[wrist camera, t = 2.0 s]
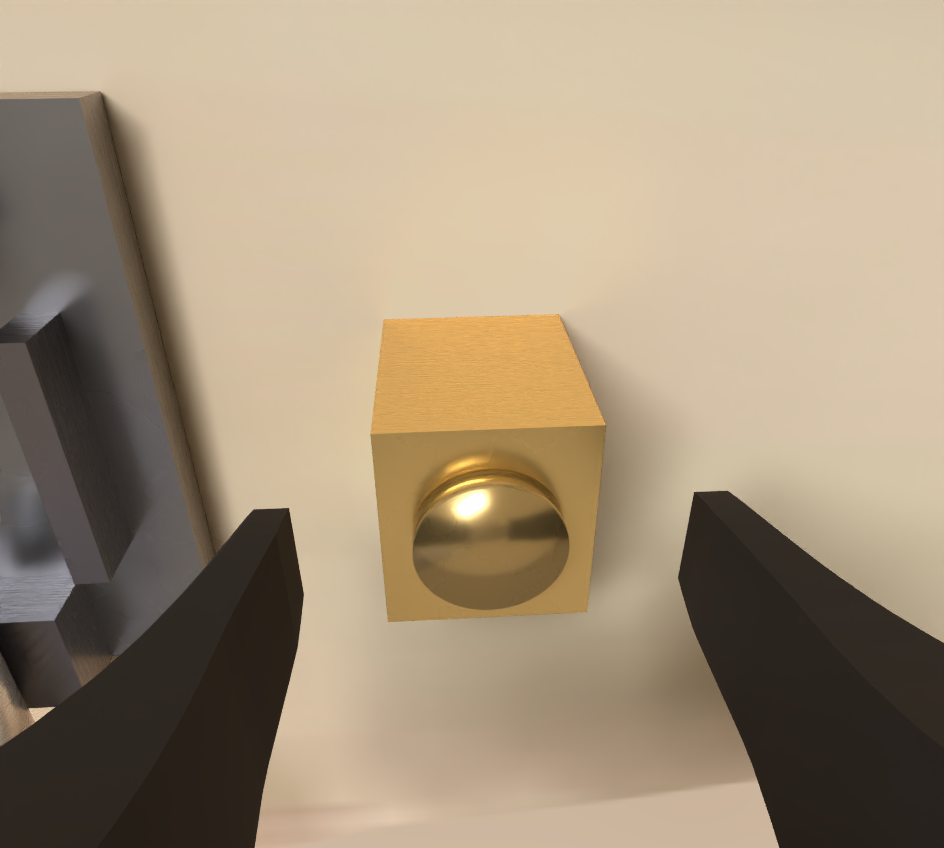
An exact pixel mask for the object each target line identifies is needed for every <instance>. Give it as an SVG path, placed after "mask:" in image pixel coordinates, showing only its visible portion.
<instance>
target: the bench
mask: <svg viewBox="0 0 944 848" xmlns="http://www.w3.org/2000/svg"><path fill="white" fill-rule="evenodd" d="M214 556H215V553H214V549H213V545H212V541H211V537H210V533H209V529H208V525H207V521H206V517H205V513H204V508H203V504H202V500H201V496H200V492H199V488H198V484H197V480H196V476H195V472H194V468H193V464H192V460H191V456H190V452H189V448H188V444H187V440H186V436H185V432H184V428H183V424H182V419H181V415H180V411H179V407H178V403H177V399H176V395H175V391H174V387H173V383H172V379H171V375H170V371H169V367H168V363H167V359H166V355H165V351H164V347H163V343H162V339H161V335H160V331H159V326H158V322H157V318H156V314H155V310H154V306H153V302H152V298H151V294H150V290H149V286H148V282H147V278H146V274H145V270H144V266H143V262H142V258H141V254H140V250H139V246H138V242H137V237H136V233H135V229H134V225H133V221H132V217H131V213H130V209H129V205H128V201H127V197H126V193H125V189H124V185H123V181H122V177H121V173H120V169H119V165H118V161H117V157H116V153H115V149H114V144H113V140H112V136H111V132H110V128H109V124H108V120H107V116H106V112H105V108H104V104H103V100H102V96H101V92H33V93H0V746H2V745H3V744H5V743H6V742H8V741H9V740H11V739H12V738H14V737H15V736H16V735H18V734H19V733H21V732H22V731H24V730H25V729H27V728H28V727H30V726H31V725H32V724H34V723H35V721H34V719H33V717H32V715H31V713H30V711H29V709H28V708H42V707H56V706H58V705H59V704H60V703H62V702H63V701H64V700H65V699H67V698H68V697H69V696H71V695H72V694H73V693H75V692H76V691H77V690H79V689H80V688H81V687H83V686H84V685H85V684H86V683H88V682H89V681H90V680H91V679H93V678H94V677H95V676H96V675H98V674H99V673H100V672H101V671H102V670H103V669H105V668H106V667H107V666H108V665H109V663H110V661H111V658H112V656H117V655H121V654H122V653H123V652H124V651H125V650H126V649H127V648H128V647H129V646H130V645H131V644H133V643H134V642H135V641H136V640H137V639H138V638H139V637H140V636H141V635H142V634H143V633H144V632H145V631H146V630H147V629H148V628H149V627H150V626H151V625H152V624H153V623H154V622H155V621H156V620H157V619H158V618H159V617H160V616H161V615H162V614H163V613H164V612H165V611H166V610H167V609H168V608H169V607H170V606H171V604H172V603H173V602H174V601H175V600H176V599H177V598H178V597H179V596H180V595H181V594H182V593H183V592H184V591H185V590H186V588H187V587H188V586H189V585H190V584H191V583H192V582H193V580H194V579H195V578H196V577H197V576H198V575H199V574H200V572H201V571H202V570H203V569H204V568H205V567H206V566H207V565H208V563H209V562H210V561H211V560H212V559H213V557H214Z"/></svg>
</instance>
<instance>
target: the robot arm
mask: <svg viewBox="0 0 944 848" xmlns="http://www.w3.org/2000/svg"><path fill="white" fill-rule="evenodd" d="M678 579H679V583H680V586H681V590H682V594H683V597H684V601H685V604H686V608H687V611H688V614H689V617H690V621H691V624H692V627H693V630H694V632H695V635H696V637H697V639H698V642H699V644H700V646H701V648H702V651H703V653H704V655H705V657H706V660H707V662H708V664H709V667H710V669H711V671H712V673H713V675H714V678H715V680H716V682H717V684H718V687H719V689H720V691H721V693H722V695H723V698H724V700H725V702H726V704H727V707H728V709H729V711H730V713H731V715H732V718H733V720H734V722H735V724H736V727H737V729H738V731H739V733H740V736H741V738H742V740H743V742H744V745H745V748H746V750H747V753H748V755H749V758H750V760H751V763H752V765H753V768H754V771H755V774H756V777H757V780H758V783H759V786H760V789H761V792H762V795H763V798H764V801H765V804H766V807H767V810H768V813H769V816H770V819H771V822H772V825H773V829H774V832H775V835H776V838H777V842H778V844H779V848H944V643H943V642H941V641H939V640H937V639H936V638H934V637H932V636H930V635H929V634H927V633H925V632H924V631H922V630H920V629H919V628H917V627H915V626H914V625H912V624H910V623H909V622H907V621H905V620H904V619H902V618H900V617H899V616H897V615H895V614H894V613H892V612H890V611H889V610H887V609H886V608H884V607H883V606H881V605H879V604H878V603H876V602H875V601H873V600H872V599H870V598H869V597H868V596H866V595H865V594H863V593H862V592H860V591H859V590H857V589H856V588H854V587H853V586H852V585H850V584H849V583H847V582H846V581H844V580H843V579H841V578H840V577H839V576H837V575H836V574H835V573H833V572H832V571H830V570H829V569H828V568H826V567H825V566H824V565H822V564H821V563H820V562H818V561H817V560H816V559H814V558H813V557H812V556H810V555H809V554H808V553H806V552H805V551H804V550H803V549H801V548H800V547H799V546H797V545H796V544H795V543H794V542H792V541H791V540H790V539H788V538H787V537H786V536H785V535H783V534H782V533H781V532H780V531H778V530H777V529H776V528H775V527H773V526H772V525H771V524H770V523H768V522H767V521H766V520H765V519H763V518H762V517H761V516H760V515H758V514H757V513H756V512H755V511H753V510H752V509H751V508H750V507H748V506H747V505H746V504H745V503H743V502H742V501H741V500H739V499H738V498H737V497H735V496H734V495H733V494H731V493H730V492H729V491H711V492H694V496H693V501H692V507H691V512H690V517H689V523H688V528H687V533H686V539H685V544H684V549H683V555H682V560H681V565H680V571H679V576H678ZM303 597H304V593H303V587H302V581H301V576H300V570H299V564H298V558H297V552H296V547H295V541H294V535H293V529H292V523H291V518H290V512H289V508H281V509H256V510H253V511H252V512H251V513H250V514H249V515H248V516H247V517H246V519H245V520H244V521H243V522H242V523H241V525H240V526H239V527H238V528H237V530H236V531H235V532H234V533H233V534H232V536H231V537H230V538H229V539H228V541H227V542H226V543H225V544H224V545H223V547H222V548H221V549H220V550H219V551H218V553H217V554H216V555H215V556H214V557H213V559H212V560H211V561H210V562H209V563H208V565H207V566H206V567H205V568H204V569H203V570H202V571H201V572H200V574H199V575H198V576H197V577H196V578H195V579H194V580H193V582H192V583H191V584H190V585H189V586H188V587H187V588H186V590H185V591H184V592H183V593H182V594H181V595H180V596H179V597H178V598H177V599H176V600H175V601H174V602H173V603H172V604H171V606H170V607H169V608H168V609H167V610H166V611H165V612H164V613H163V614H162V615H161V616H160V617H159V618H158V619H157V620H156V621H155V622H154V623H153V624H152V625H151V626H150V627H149V628H148V629H147V630H146V631H145V632H144V633H143V634H142V635H141V636H140V637H139V638H138V639H137V640H136V641H135V642H134V643H133V644H131V645H130V646H129V647H128V648H127V649H126V650H125V651H124V652H123V653H122V654H121V655H120V656H118V657H117V658H116V659H115V660H114V661H113V662H111V663H110V664H109V665H108V666H107V667H106V668H105V669H103V670H102V671H101V672H100V673H99V674H98V675H96V676H95V677H94V678H93V679H91V680H90V681H89V682H88V683H86V684H85V685H84V686H83V687H81V688H80V689H79V690H77V691H76V692H75V693H73V694H72V695H71V696H69V697H68V698H67V699H65V700H64V701H63V702H62V703H60V704H59V705H58V706H56V707H55V708H54V709H52V710H51V711H50V712H48V713H47V714H46V715H45V716H43V717H42V718H41V719H39V720H38V721H37V722H35V723H34V724H32V725H31V726H30V727H28V728H27V729H25V730H24V731H22V732H21V733H19V734H18V735H16V736H15V737H14V738H12V739H11V740H9V741H8V742H6V743H5V744H3V745H2V746H0V848H254V847H255V841H256V834H257V827H258V820H259V814H260V807H261V800H262V794H263V789H264V784H265V779H266V774H267V769H268V765H269V761H270V757H271V753H272V749H273V745H274V741H275V737H276V733H277V729H278V725H279V721H280V717H281V713H282V709H283V705H284V701H285V697H286V693H287V689H288V685H289V681H290V677H291V672H292V668H293V664H294V660H295V656H296V652H297V647H298V640H299V632H300V624H301V615H302V606H303Z"/></svg>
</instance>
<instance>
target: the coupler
mask: <svg viewBox="0 0 944 848" xmlns="http://www.w3.org/2000/svg"><path fill="white" fill-rule="evenodd" d="M605 431H606V424H605V421H604V419H603V417H602V414H601V412H600V410H599V407H598V405H597V403H596V400H595V398H594V396H593V393H592V391H591V389H590V386H589V384H588V382H587V379H586V377H585V375H584V372H583V370H582V368H581V365H580V363H579V361H578V358H577V356H576V354H575V351H574V349H573V347H572V344H571V342H570V340H569V337H568V335H567V333H566V330H565V328H564V326H563V323H562V321H561V319H560V316H559V314H555V315H522V316H488V317H455V318H422V319H388V320H384V322H383V330H382V339H381V348H380V357H379V365H378V374H377V383H376V391H375V400H374V409H373V418H372V426H371V443H372V454H373V465H374V476H375V486H376V497H377V508H378V519H379V529H380V540H381V551H382V562H383V572H384V583H385V594H386V605H387V615H388V622H397V621H417V620H437V619H457V618H477V617H497V616H517V615H536V614H556V613H576V612H587V606H588V596H589V587H590V577H591V567H592V557H593V548H594V538H595V528H596V518H597V509H598V499H599V489H600V479H601V470H602V460H603V450H604V440H605Z"/></svg>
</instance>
